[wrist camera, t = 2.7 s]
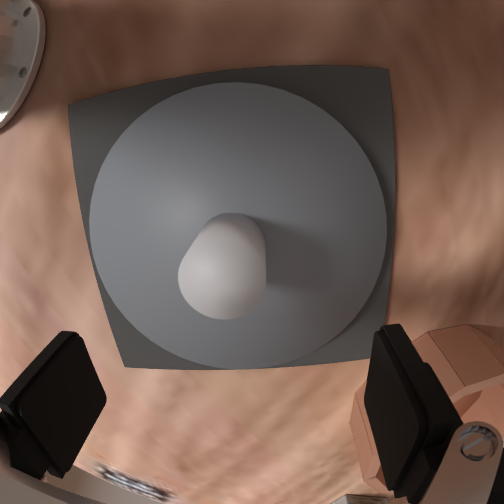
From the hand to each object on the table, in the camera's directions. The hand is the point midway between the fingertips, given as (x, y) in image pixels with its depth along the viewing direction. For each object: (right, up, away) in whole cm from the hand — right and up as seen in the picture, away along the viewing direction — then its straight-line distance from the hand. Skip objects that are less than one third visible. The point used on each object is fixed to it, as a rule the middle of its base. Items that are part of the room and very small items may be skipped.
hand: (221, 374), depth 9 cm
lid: (0, +4, +11) cm, 12 cm away
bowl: (+18, -10, +16) cm, 26 cm away
